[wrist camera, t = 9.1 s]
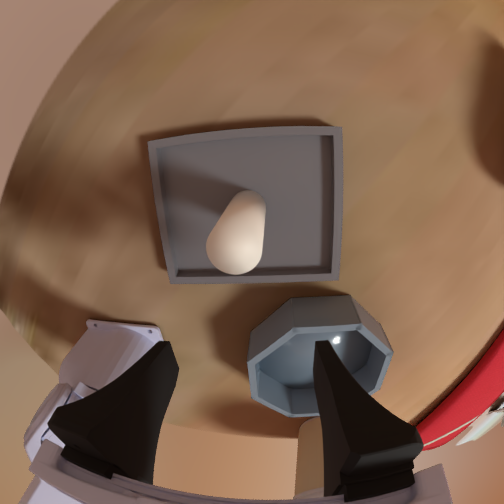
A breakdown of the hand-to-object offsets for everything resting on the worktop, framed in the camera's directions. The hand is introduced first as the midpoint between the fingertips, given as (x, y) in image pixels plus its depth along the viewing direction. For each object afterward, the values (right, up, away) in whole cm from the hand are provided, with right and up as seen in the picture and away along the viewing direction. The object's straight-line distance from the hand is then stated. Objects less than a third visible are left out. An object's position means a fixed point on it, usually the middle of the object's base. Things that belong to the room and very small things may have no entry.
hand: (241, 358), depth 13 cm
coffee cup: (+11, -19, +18) cm, 28 cm away
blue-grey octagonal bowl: (+7, -4, +12) cm, 14 cm away
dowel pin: (0, +8, +6) cm, 10 cm away
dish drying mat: (+39, -12, +14) cm, 43 cm away
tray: (0, +8, +7) cm, 11 cm away
